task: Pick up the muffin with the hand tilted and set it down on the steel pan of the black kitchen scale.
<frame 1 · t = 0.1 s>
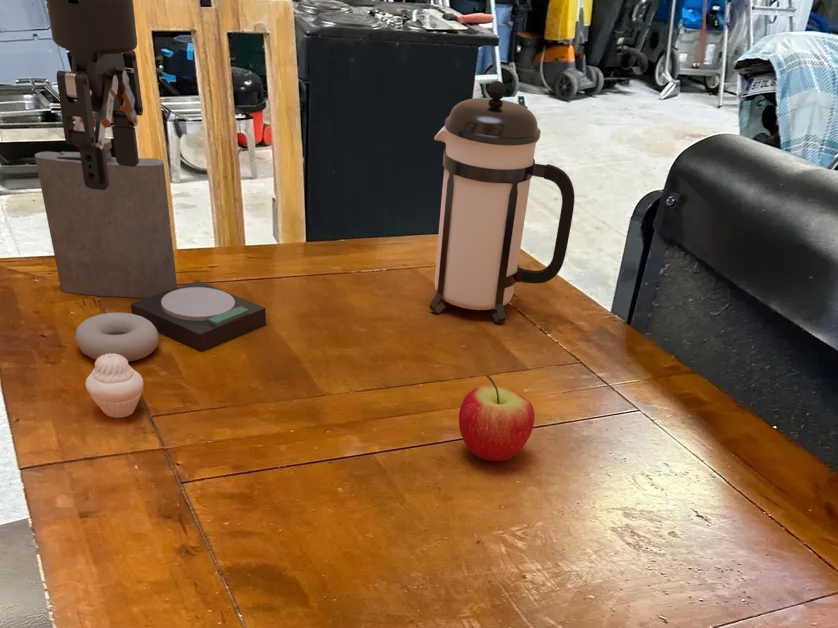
hand: (113, 176, 91), 24 cm above the table, tool pointing down, fingers open, 8 cm apart
donut: (119, 351, 113), on the table
scale: (200, 322, 121), on the table
hip flask: (119, 293, 126), on the table
muffin: (119, 412, 102), on the table
coffee press: (480, 307, 134), on the table
apple: (491, 455, 102), on the table
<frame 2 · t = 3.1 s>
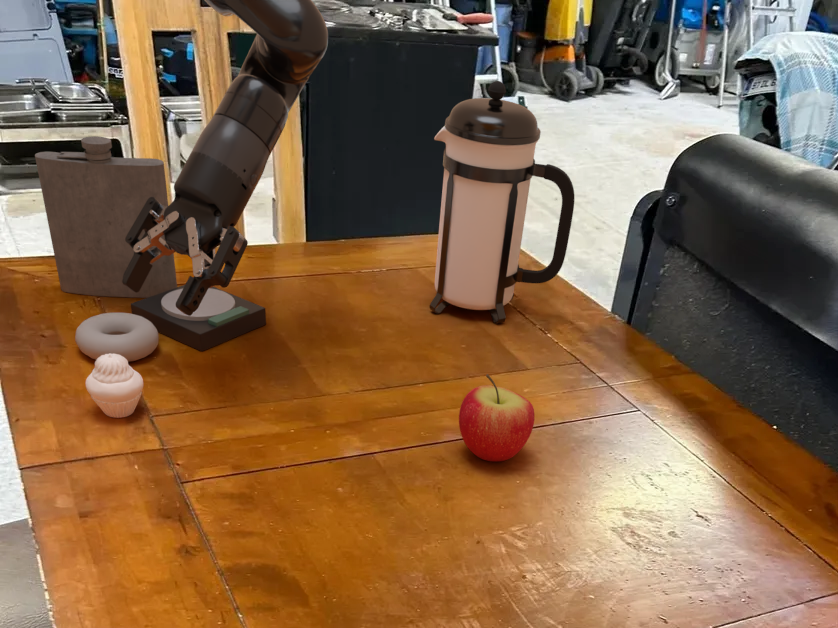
hand: (155, 299, 99), 11 cm above the table, tool tilted 45°, fingers open, 8 cm apart
nothing on the table moved.
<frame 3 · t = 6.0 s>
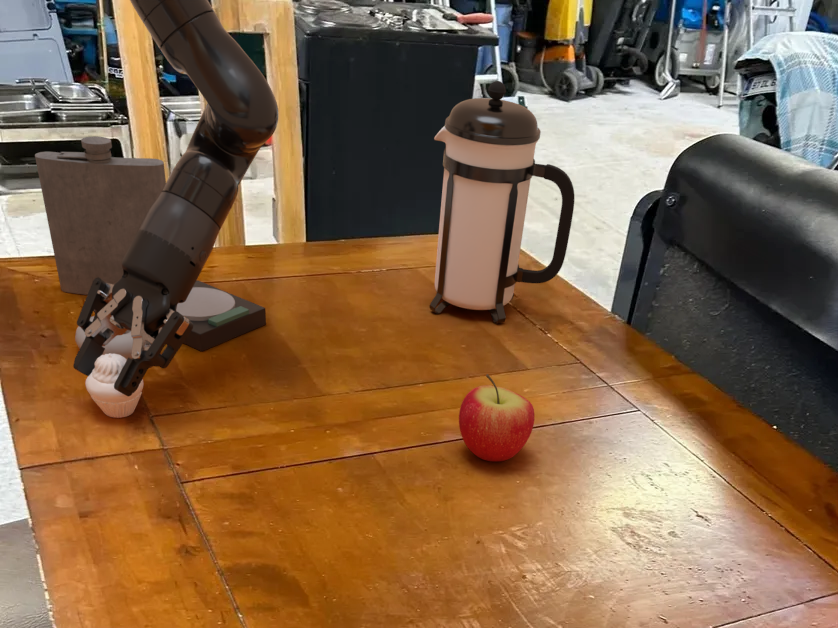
hand: (101, 382, 98), 4 cm above the table, tool tilted 45°, fingers closed on muffin, 6 cm apart
muffin: (119, 412, 102), on the table, touching gripper
everything else where it was.
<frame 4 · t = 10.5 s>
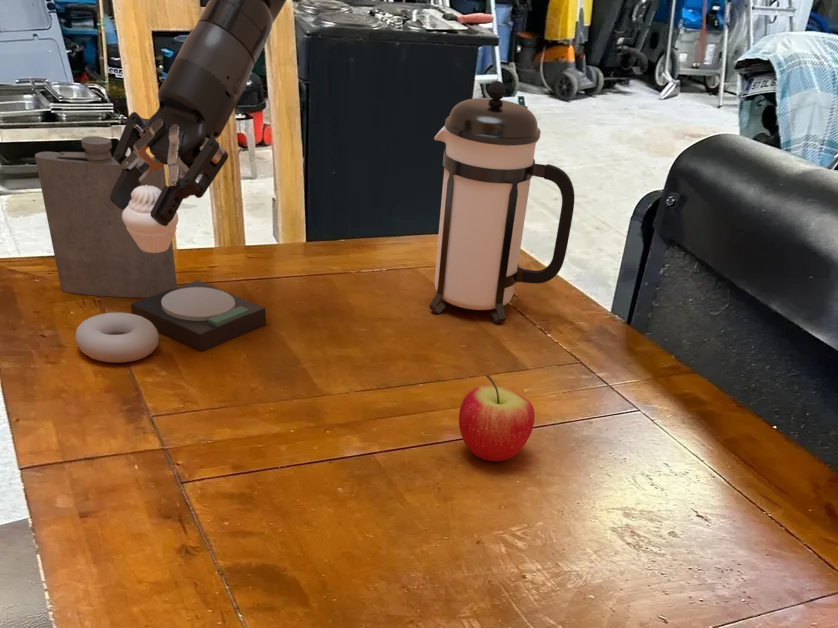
hand: (137, 213, 99), 18 cm above the table, tool tilted 45°, fingers closed on muffin, 6 cm apart
muffin: (154, 249, 103), point 14 cm above the table, touching gripper
everything else where it was.
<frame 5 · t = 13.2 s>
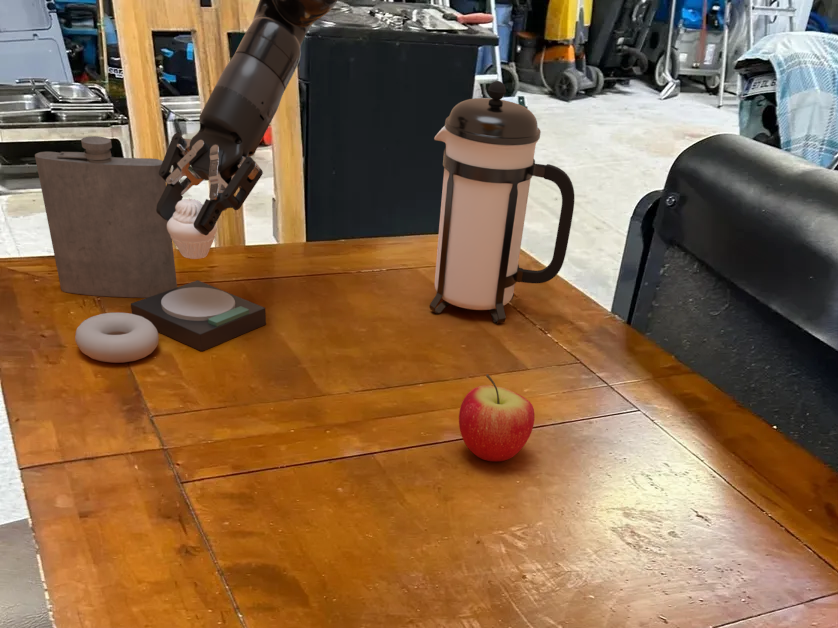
hand: (181, 223, 111), 13 cm above the table, tool tilted 45°, fingers closed on muffin, 6 cm apart
muffin: (194, 256, 115), point 9 cm above the table, touching gripper
everything else where it was.
when the fingers open (7 cm above the table, at t = 15.5 s): muffin stays where it is, resting on scale.
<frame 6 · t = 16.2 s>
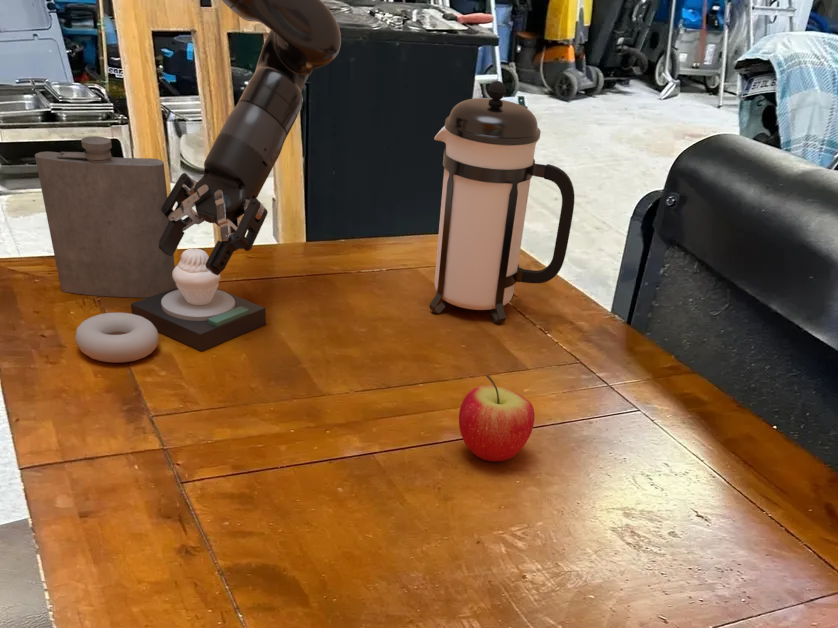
hand: (187, 261, 114), 9 cm above the table, tool tilted 45°, fingers open, 8 cm apart
muffin: (198, 302, 119), point 3 cm above the table, touching scale
everything else where it was.
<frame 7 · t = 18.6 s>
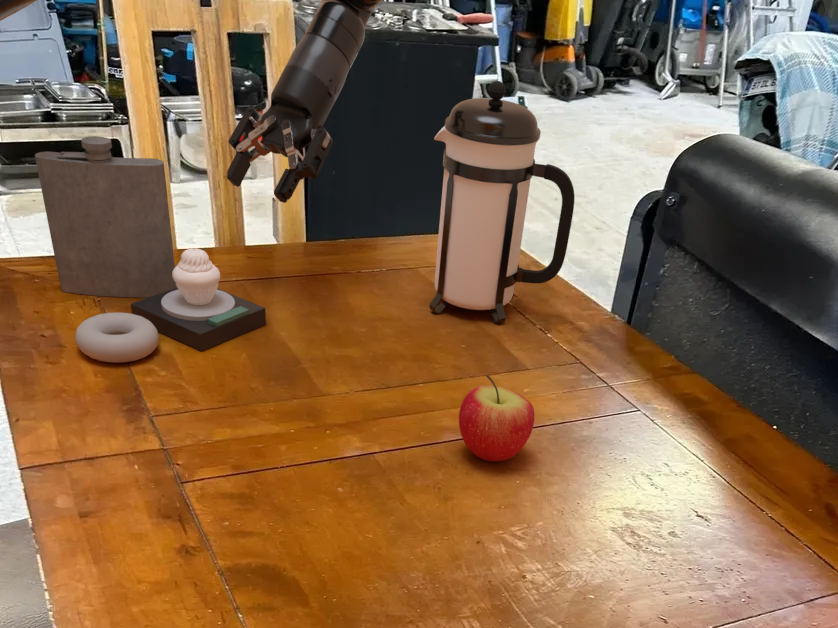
hand: (255, 190, 119), 15 cm above the table, tool tilted 45°, fingers open, 8 cm apart
nothing on the table moved.
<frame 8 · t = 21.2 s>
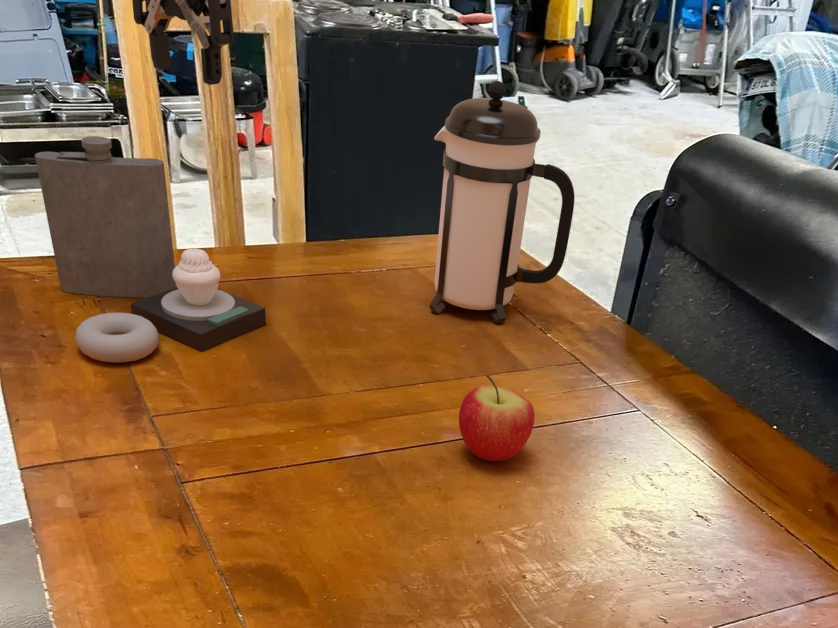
hand: (187, 76, 108), 28 cm above the table, tool pointing down, fingers open, 8 cm apart
nothing on the table moved.
at the end: muffin inside the target area on the scale (0.2 cm from its centre), point 2.8 cm above the scale's base; muffin tilted 0° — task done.
